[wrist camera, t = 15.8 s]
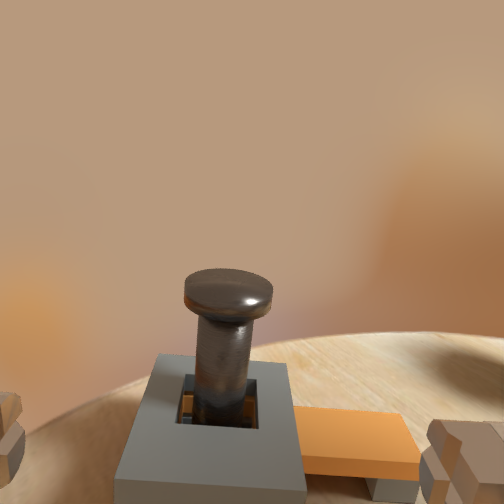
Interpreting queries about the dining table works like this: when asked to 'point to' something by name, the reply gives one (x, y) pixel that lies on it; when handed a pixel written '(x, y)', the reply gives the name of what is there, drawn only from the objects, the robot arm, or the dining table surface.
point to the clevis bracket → (256, 445)
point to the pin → (224, 340)
